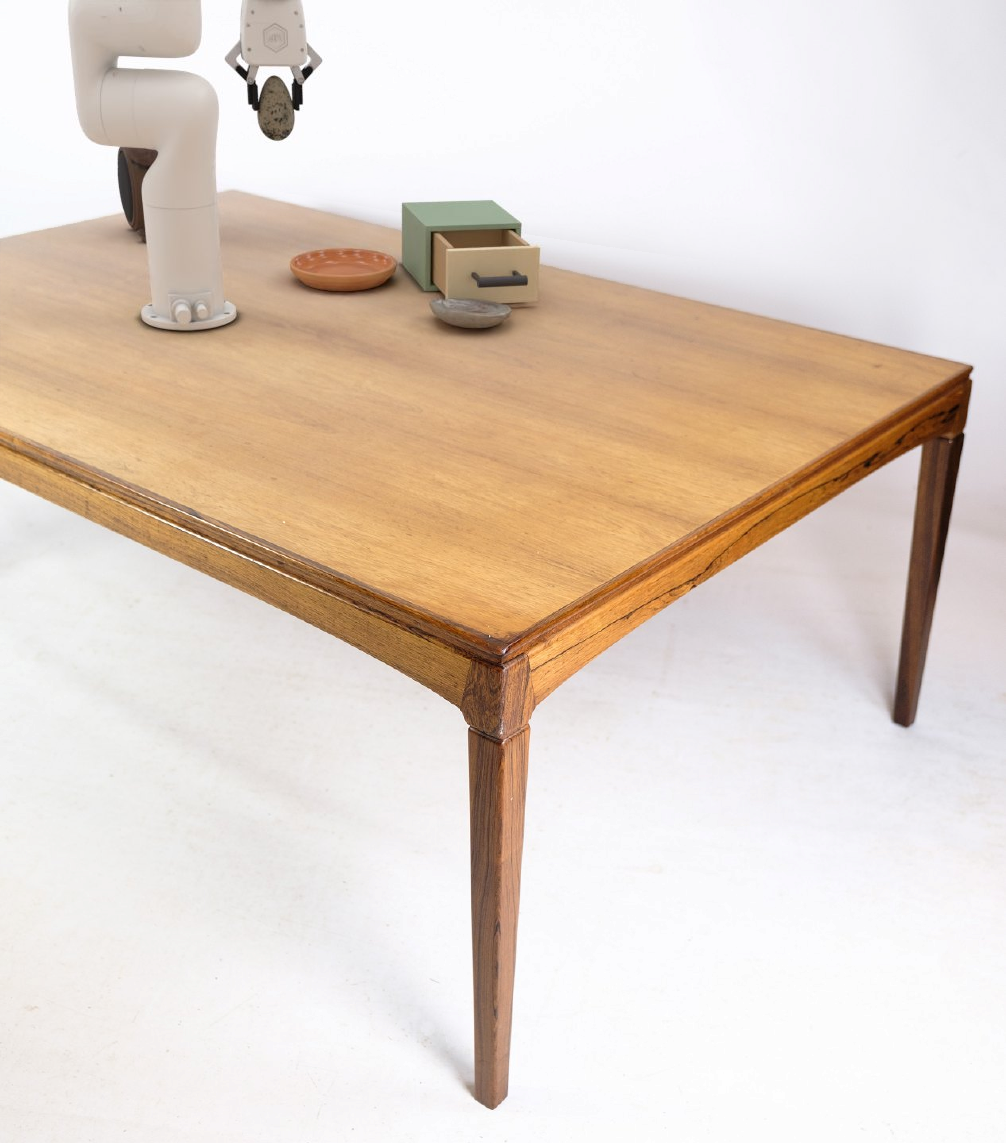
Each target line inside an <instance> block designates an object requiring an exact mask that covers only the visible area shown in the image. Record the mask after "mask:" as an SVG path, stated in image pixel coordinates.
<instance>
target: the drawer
mask: <svg viewBox="0 0 1006 1143" xmlns="http://www.w3.org/2000/svg"><path fill="white" fill-rule="evenodd" d="M540 257H541V247H540V246H539V245H537V244H536V245H531V244H529V243H528V242H527V241H526V240H525V239H524V238H522V236H521V237H520V236H519V235H517V234H516V233H515V232H514V231H512V230H511V229H487V230H458V231H431V263H430V279H431V280H432V281H433V283H434V284H435V285H436V286H437V287H438V288H439V289H440V290H441V291H440V292H441V293H442V294H443V295H444V296H445V298H444V299H478V300H487V301H492V302H497V303H500V304H517V303H518V304H519V303H535V302H538V300H539V299H538V298H539V282H540V281H539V279H540V278H539V277H540V260H541V258H540Z"/></svg>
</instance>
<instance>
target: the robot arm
mask: <svg viewBox="0 0 1006 1143" xmlns="http://www.w3.org/2000/svg"><path fill="white" fill-rule="evenodd" d="M240 6H241V7H240V18H239V19H240V22H239V40H238V41H237V42H236V43H235V44H234V46H233V47H232V48H231V49H230V51H228V52H227V54H226V55H225V56H224V61H225V62H226V64H228V66H230V67H231V68H232V70H233V71H235V72H236V74H238V75H239V76H240V77H241V78H242V79H243V80H244V81H245V82H246V88H247V92H246V93H247V105H248V106H251V109H252V110H253V111H254V112H257V111H258V110H259V85H258V84H257V83H256V82H257V80H256V78H257V74H258V71H259V68H260V67H285V68H286V67H289V69H290V71H291V75H292V76H293V79H292V83H291V99H292V103H293V107H294V111H296V112H300V109H301V108H300V106H302V105H303V104H304V94H303V93H304V91H303V88H304V87H303V85H305V82H306V81H307V79H308V78H310V76H311V75H312V74H313V73H314V71H316V69H317V68H318V67H319V66H320V65H322V63H323V58H322V57H321V56H320V55H319V54H318V53H317V52H316V50H315V49H314V48H313V47H312V46H311V45H310V44H309V42H307V30H306V20H305V14H304V13H305V12H304V6H303V1H302V0H241V5H240ZM202 14H203V13H202V0H68V5H67V22H68V36H69V37H68V38H69V45H70V57H71V67H72V68H71V69H72V75H73V78H72V79H73V86H74V87H73V88H74V97H75V106H76V114H77V118H78V122H79V126H80V128H81V130H82V133H83V134H84V135H85V137H86V139H88V140H89V141H91V142H92V143H94V144H96V145H100V146H105V147H117V148H120V147H131V148H146V149H153V150H156V151H158V156H157V158H156V160H155V161H154V163H153V164H152V165H151V167H150V168H149V170H148V171H147V173H146V174H145V177H144V179H143V183H142V201H143V210H144V221H145V239H146V241H145V242H146V249H147V250H146V252H147V263H148V272H149V283H150V284H149V285H150V295H151V302H149V303H147V304H145V306H143V307H142V308H141V311H140V314H141V320H142V321H143V322H144V323H146V324H147V325H149V326H151V327H155V328H158V329H162V330H170V331H200V330H209V329H213V328H218V327H221V326H224V325H227V324H229V323H232V322H233V321H234V320H235V319H236V318H237V314H238V313H237V307H236V306H235V304H233V303H232V302H231V301H228V300H225V294H224V280H223V264H222V253H221V252H222V251H221V237H220V221H219V220H220V219H219V208H218V206H219V205H218V189H217V168H216V167H217V166H216V165H217V164H216V163H217V162H216V159H217V156H216V155H217V141H218V140H217V138H218V129H219V118H220V104H219V103H220V102H219V97H218V93H217V92H216V89H215V87H214V86H213V85H212V83H210V81H208V80H207V79H206V78H205V77H203V76H201V75H199V74H196V73H193V72H190V71H185V70H177V69H164V68H163V69H161V68H132V67H131V68H129V67H118V61H119V57H133V58H135V57H136V58H152V59H153V58H154V59H155V58H157V59H181V58H186V57H190V56H193V55H194V54H195V53H196V52H197V50H198V49H199V47H200V46H201V41H202V31H203V30H202V29H203V22H202V21H203V19H202V18H203V16H202ZM239 56H240V58H241V60H242V61H244V63H246V64H247V69H245V68H244V67H243V66H242V65H241V64H240V63H239V62H238V61H237V58H238V57H239ZM308 57H309V59H310V61H309V62H308ZM307 62H308V63H307ZM305 64H306V65H305ZM302 66H304V67H303V68H302V69H301V67H302Z"/></svg>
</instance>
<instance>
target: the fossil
mask: <svg viewBox="0 0 1006 1143" xmlns="http://www.w3.org/2000/svg"><path fill="white" fill-rule="evenodd" d="M428 305H429V307H430V310H431V312H432V313H433V315H435V316H436V317H437V318H438V319H440V320H441V321H443V322H445V323H447V324H448V325H452V326H455V327H460V328H464V329H487V328H491V327H495V326H498V325H499V324H501V323H503V321H504V320H506V319H507V318H509V317H510V315H511V313H512V311H513V310H512V308H511V307H510V305H509V304H505V303H497V302H492V301H487V300H478V299H445V298H444V299H443V298H438V299H437V298H434V299H433V298H432V299H430V300H429V301H428Z"/></svg>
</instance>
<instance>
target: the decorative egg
mask: <svg viewBox="0 0 1006 1143" xmlns="http://www.w3.org/2000/svg"><path fill="white" fill-rule="evenodd" d="M258 102H259V110H258V111H256V115H257V116H256V117H257V118H256V119H257V122H258V126H259V129H260V131H261V132H262V134H263V135H264V136H265V137H266V138H267V139H269V140H271V141H276V142H281V141H284V140H285V139H287V138H288V137H289V136H290V135H291V133H292V132H293V130H294V127H295V121H296V120H295V119H296V118H295V117H296V114H295V110H294V107H293V103H292V95H291V93H290V91H289V88H288V87H287V85H286V83H285V82H284V80H283V79H282V78H281V77H280V76H278V75H270V76H269V77H268V78H267V79H266V80H265V81H264V83H263V85H262V87H261V90H260V94H259V96H258Z"/></svg>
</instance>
